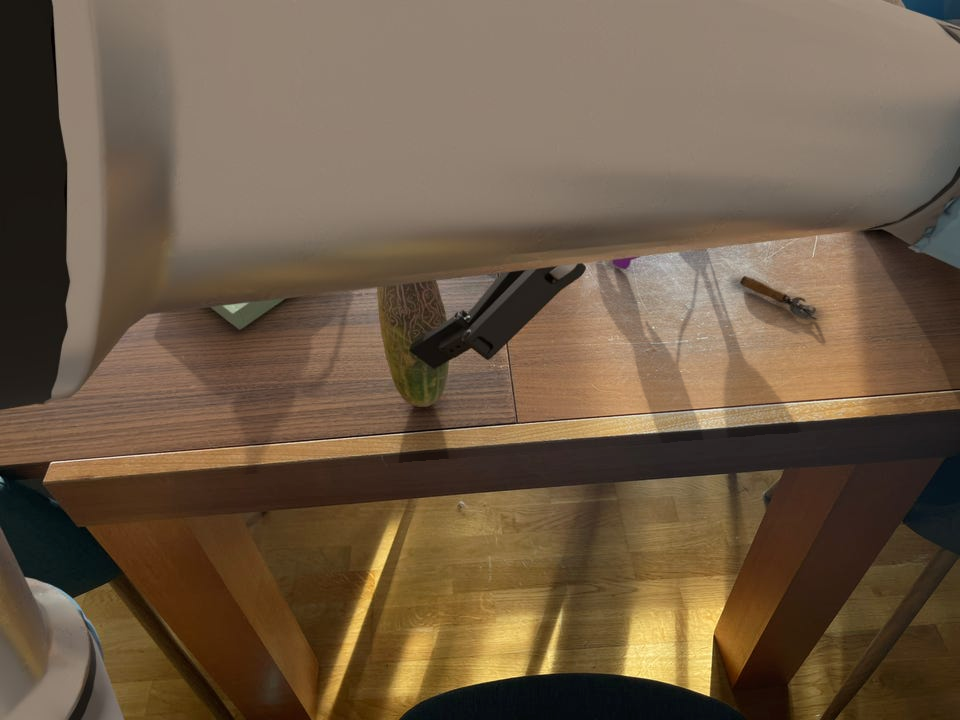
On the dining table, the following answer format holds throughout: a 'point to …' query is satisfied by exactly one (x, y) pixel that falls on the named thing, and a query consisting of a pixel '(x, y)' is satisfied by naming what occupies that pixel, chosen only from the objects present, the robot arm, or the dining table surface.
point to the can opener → (780, 297)
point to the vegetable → (412, 338)
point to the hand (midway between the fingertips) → (442, 298)
